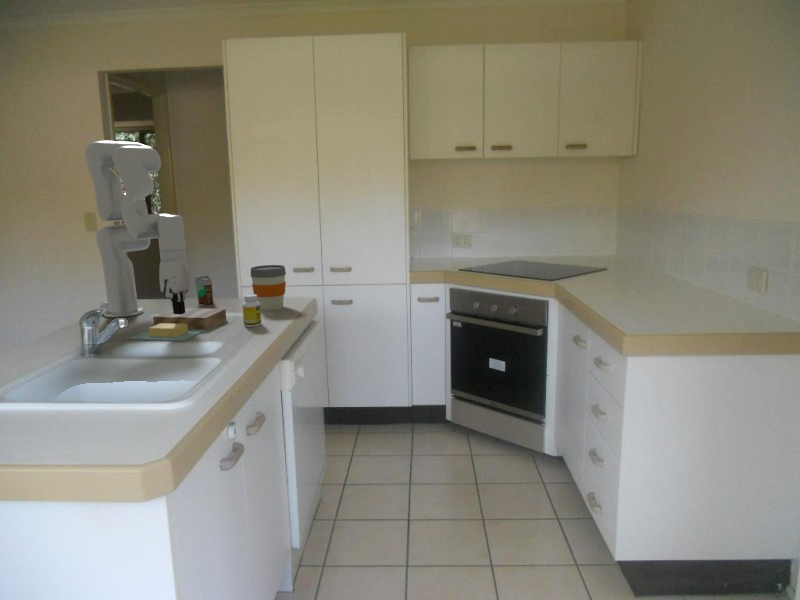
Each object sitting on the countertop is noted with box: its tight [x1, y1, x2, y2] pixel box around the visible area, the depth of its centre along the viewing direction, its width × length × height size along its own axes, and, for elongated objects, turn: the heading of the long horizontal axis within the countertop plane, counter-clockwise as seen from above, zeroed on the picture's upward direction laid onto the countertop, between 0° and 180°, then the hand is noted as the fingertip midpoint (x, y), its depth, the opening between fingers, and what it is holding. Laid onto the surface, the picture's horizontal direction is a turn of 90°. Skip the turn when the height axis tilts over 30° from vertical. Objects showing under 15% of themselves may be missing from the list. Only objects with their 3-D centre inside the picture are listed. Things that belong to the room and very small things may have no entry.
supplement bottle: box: [242, 293, 262, 328], centre depth 180 cm, size 5×5×10 cm
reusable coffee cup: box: [250, 264, 287, 311], centre depth 205 cm, size 13×12×15 cm
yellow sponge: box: [148, 323, 188, 337], centre depth 171 cm, size 9×6×2 cm, turn 81°
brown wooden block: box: [152, 307, 227, 331], centre depth 183 cm, size 18×13×4 cm
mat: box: [128, 329, 207, 342], centre depth 171 cm, size 18×12×1 cm, turn 80°
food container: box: [193, 275, 214, 306], centre depth 217 cm, size 12×6×10 cm, turn 23°
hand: (179, 313), depth 177 cm, fingers closed
